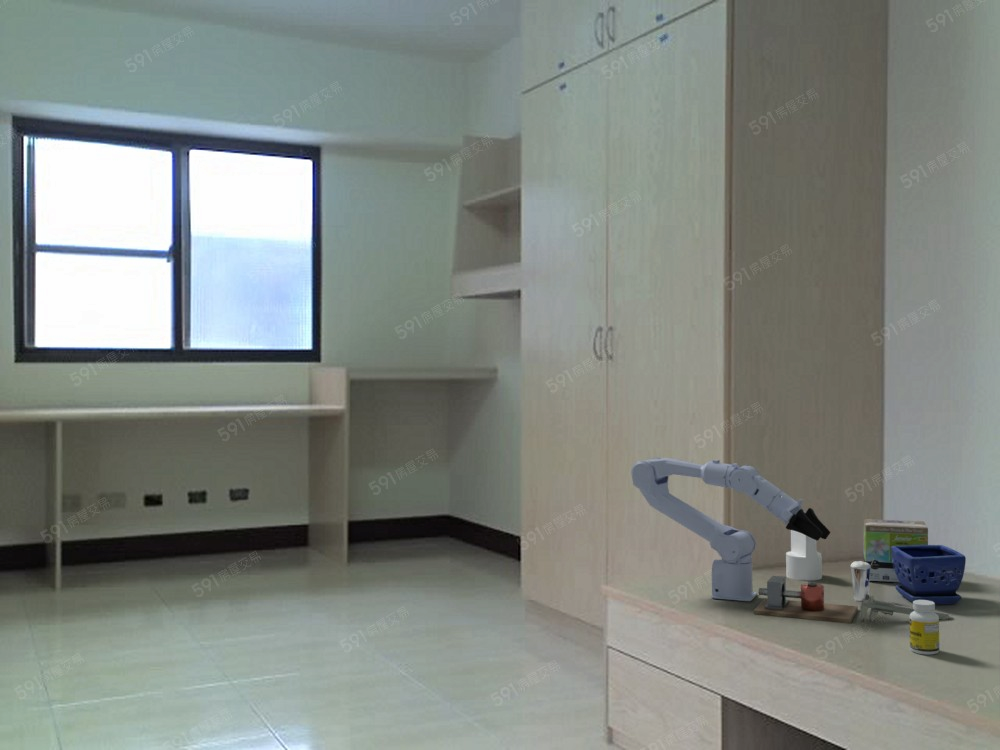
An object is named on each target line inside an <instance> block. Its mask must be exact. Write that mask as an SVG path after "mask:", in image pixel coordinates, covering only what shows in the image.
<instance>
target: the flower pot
mask: <svg viewBox="0 0 1000 750" xmlns="http://www.w3.org/2000/svg"><path fill="white" fill-rule="evenodd" d="M891 556H892V562H893V567H894V570H895V573H896V576H897V578H898V580H899V582H898V583H899V584H900V585H899V584H898V585H895V587H894V588H895V590H896V591H897V592H898V593H899V594H900V595H901V596H902V597H903V598H905V599H906V600H907V601H909V602H911V603H913V601H915V600H928V601H932V602H934V603H935V606H936V605H954V604H957V603H959V602H960V601H961V600H962V596H961V595H960V594H958V593H957V591H958V589H959V588H960V586H961V584H962V581H963V578H964V574H965V569H966V561H967V560H966V555H964V554H963V553H961V552H959V551H957V550H956V549H953V548H950V547H949V546H945V545H943V544H928V545H907V546H892V547H891Z"/></svg>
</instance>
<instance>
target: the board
mask: <svg viewBox="0 0 1000 750" xmlns="http://www.w3.org/2000/svg"><path fill="white" fill-rule="evenodd" d="M788 600H789V599H788ZM766 604H767V598H766V597H765V598H764V599H763V600H762V601H761V602H760V603H759V604H758V605H757V606H756V607H755V609H754V610H753V614H754V615H761V616H771V617H784V618H792V619H793V618H794V619H795V618H796V619H802V620H803V619H804V620H805V619H806V620H817V621H826V622H827V621H828V622H835V623H837V622H839V623H845V624H846V623H847V624H851V622H852V621H853V619H854V618H855V616H856V614H857V611H858V609H859V608H858V606H857V605H848V604H846V605H845V604H836V603H834V604H832V603H825V602H824V609H823V610H806V609H803V608H801V600H800V601H798V600H789V603H788V604H787V606H786V607H785V608H784V609H783V611H780V610H769V609H765V605H766Z"/></svg>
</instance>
